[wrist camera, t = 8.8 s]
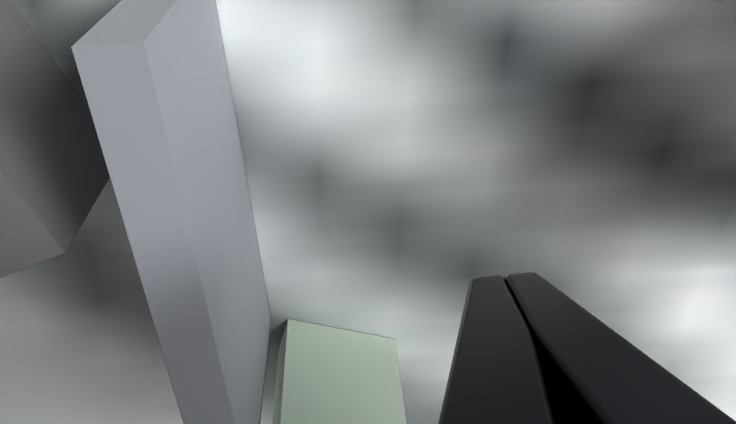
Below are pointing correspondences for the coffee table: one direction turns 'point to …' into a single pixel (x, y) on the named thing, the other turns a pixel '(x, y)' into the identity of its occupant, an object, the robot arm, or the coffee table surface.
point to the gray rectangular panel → (183, 197)
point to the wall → (336, 377)
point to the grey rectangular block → (41, 151)
